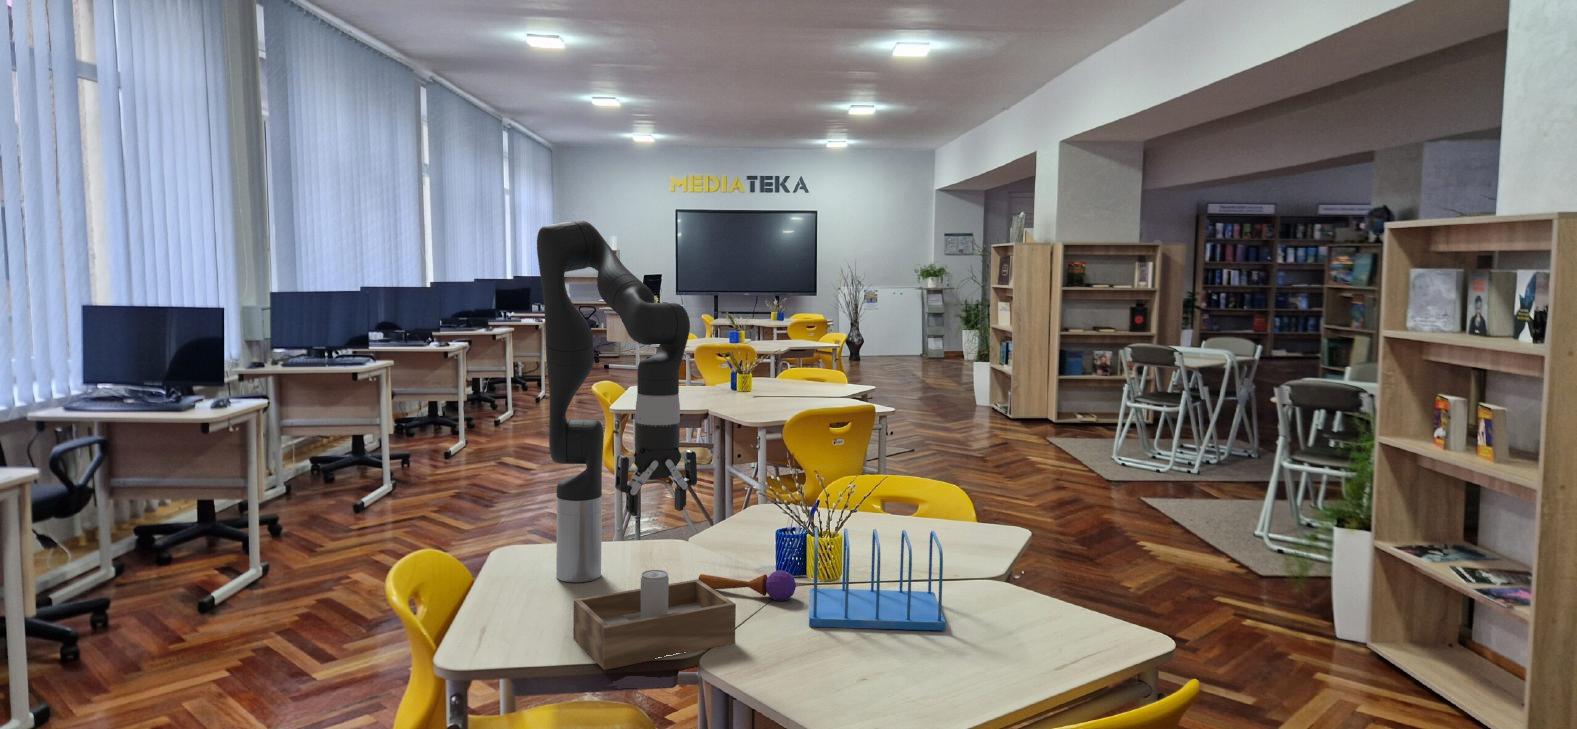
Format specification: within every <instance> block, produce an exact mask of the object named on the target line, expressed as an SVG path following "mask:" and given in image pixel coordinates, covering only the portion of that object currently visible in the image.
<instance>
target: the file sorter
mask: <svg viewBox="0 0 1577 729" xmlns="http://www.w3.org/2000/svg"><path fill="white" fill-rule="evenodd" d="M818 530H819V529H818V526H817V527H816V526H815V527H814V542H813V543H814V546H813V547H814V548H813V549H814V551H813V552H814V554H813V555H814V556H813V560H814V561H813V588H812V587H811V588H810V589H809V611H808V612H809V613H808V614H809V616H808V619H809V620H808V626H809V627H814V628H815V627H817V628H819V627H820V628H845V629H846V628H849V629H851V628H852V629H853V628H854V629H855V628H856V629H882V630H883V629H885V630H887V629H888V630H914V631H915V630H917V631H946V620H945V618H944V615H943V612H942V602H943V599H942V598H943V570H944V569H943V568H944V564H943V563H944V560H943V559H944V556H943V547H942V544H941V542H940V540H939V538H938V536H937V533H936V532H935V530H931V531H930V533H929V534H930V535H929V551H928V552H929V553H928V554H929V555H928V557H929V558H928V584H927V585H928V586H927V591H923V590H922V591H919V590H912V574H913V573H912V571H913V566H912V565H913V551H912V544H911V541H910V539H909V536H908V533H907V530H906V529H903V530H902V531H901V537H900V538H901V539H900V540H901V541H900V542H901V543H900V565H899V566H900V567H899V569H900V570H899V590H890V589H887V590H886V589H885V590H884V589H883V590H882V589H881V588H880V587H881V585H880V583H881V544H880V540H879V536H878V531H877V528H873V530H872V541H871V544H872V545H871V569H870V570H871V574H870V589H863V588H861V589H858V588H850V587H849V586H850V556H851V555H850V549H851V548H850V538H849V532H848V528H847V527H845V528H844V531H843V548H842V551H843V554H842V556H843V557H842V558H843V559H842V587H841V588H818V567H819V564H818V563H819V557H818V556H819V543H818V541H819V540H818V539H819V538H818V537H819V536H818V535H819V532H818ZM933 539H934V541H935V543H936V546H937V549H938V554H939V569H938V570H939V573H938V575H939V576H938V578H939V579H938V598H937V597H936V593H935V592H934V591H932V576H933V574H932V572H933V569H932V568H933ZM905 542H906V545H907V548H908V574H907V576H908V577H907V578H908V579H907V580H908V581H907V590H903V580H904V555H905V554H904V553H905V552H904V551H905ZM876 548H877V549H876ZM876 550H877V552H876ZM876 553H877V560H876V564H877V565H876V589H875V587H874V586H875V558H876Z"/></svg>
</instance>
